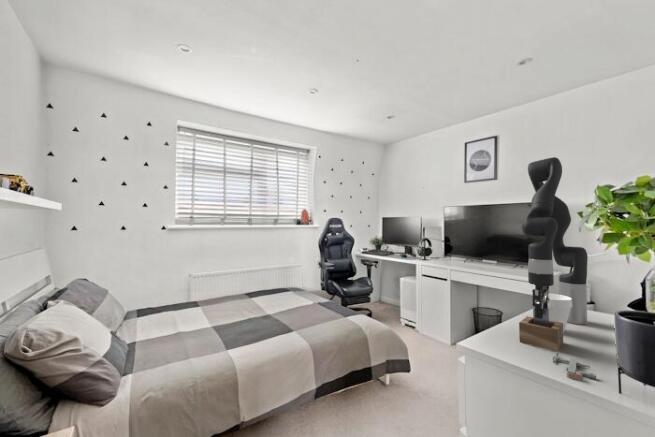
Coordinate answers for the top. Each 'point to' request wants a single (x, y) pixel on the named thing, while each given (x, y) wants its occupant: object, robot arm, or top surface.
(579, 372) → the clamp
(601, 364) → the top surface
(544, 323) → the grey upright bar
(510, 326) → the top surface
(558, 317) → the cup
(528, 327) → the well block
